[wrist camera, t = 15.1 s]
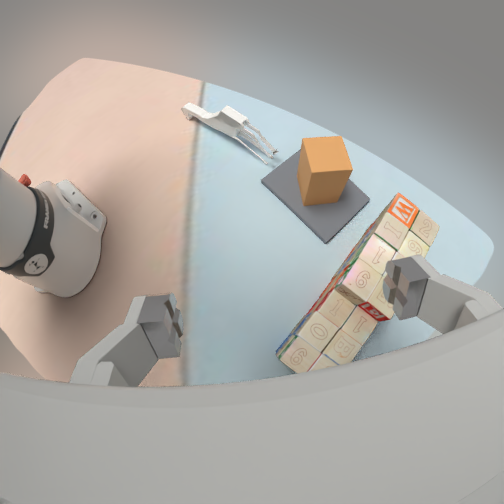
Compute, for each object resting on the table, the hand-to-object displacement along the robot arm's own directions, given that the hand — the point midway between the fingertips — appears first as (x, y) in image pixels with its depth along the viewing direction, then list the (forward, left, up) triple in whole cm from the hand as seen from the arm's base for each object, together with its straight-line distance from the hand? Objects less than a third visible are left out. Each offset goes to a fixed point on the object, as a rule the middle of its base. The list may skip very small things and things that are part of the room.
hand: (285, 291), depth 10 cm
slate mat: (-9, +17, -27) cm, 33 cm away
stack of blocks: (+5, +8, -27) cm, 29 cm away
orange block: (-9, +17, -26) cm, 32 cm away
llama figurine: (-26, +14, -27) cm, 40 cm away
